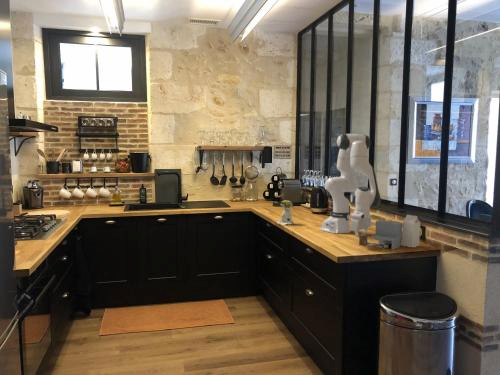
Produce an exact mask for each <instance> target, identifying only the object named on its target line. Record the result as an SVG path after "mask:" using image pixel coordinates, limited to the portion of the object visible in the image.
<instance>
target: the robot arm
mask: <svg viewBox="0 0 500 375" xmlns="http://www.w3.org/2000/svg"><path fill="white" fill-rule="evenodd" d="M370 145H371V139H370V136H368V135H367V134H361V133H359V134H358V133H340V134H339V135H338V137H337V139H336V146H337V148H338V149H339V151H338V154H337V161H336V170H338V171H339V172H340V176H334V177H330V178H327V179H326V181H325V184H324V186H325V189H326V191H327V192H329V194H330V196H331V197H332V198H331V199H332V205H333V206H332V211H330V212H329V214H330V216H329V217H327V218H326V219H325V220H324V221H323V222H322V225H321V227H319V228H318V230H319V231H321V232H325V233H326V232H327V233H331V234H349V233H351V232H354V234H355V238H359V236H360V234H359V232H360V231H361V230H363V231H362V235H367V231H368V228H369V227H371V226H372V216H371V214H370V213H371V208H376V207H378V206H379V205H380V204H381V199H382V198H381V197H382V196H381V194H380V191H379V185H378V181H377V176H376V172H375V168H374V166H373V165H371V164H370V162H369V152H368V149H369V148H370ZM354 171H355V172H356V173H359V174H362V175H363V176H365V177H367V179H368V182H369V187H366V186H359V182H358V179H357V178H356V177H355V175H354ZM350 192H351V193H350ZM345 193H350V195H349V196H350V200H349V199H348V198H346V197H345ZM350 204H351V205H352V206H355V207H354V211H353V212H352V213H350ZM350 214H351V215H350ZM350 218H351V221H350Z"/></svg>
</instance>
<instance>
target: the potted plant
mask: <svg viewBox="0 0 500 375" xmlns="http://www.w3.org/2000/svg"><path fill="white" fill-rule="evenodd" d="M293 205H294V203H292V201H290V200H287V199H286V200H282V201H280V206H281V207H283V208H284V209H283V211H282V213H281V216H280V219H281V220H280V221H277V225H282V226H286V225H288V226H289V225H294V220H292V219H293V218H292V214H293V213H292V211H291V209H290V208H292V207H293Z"/></svg>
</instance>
